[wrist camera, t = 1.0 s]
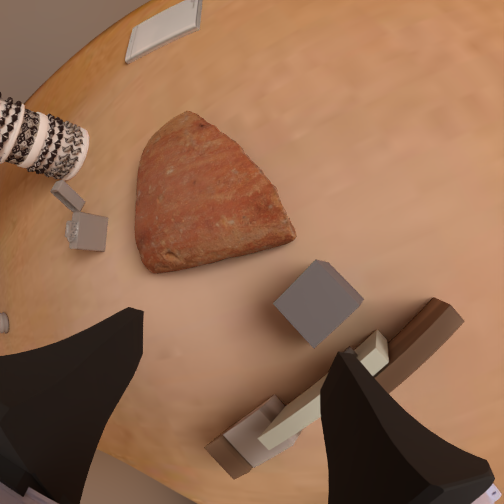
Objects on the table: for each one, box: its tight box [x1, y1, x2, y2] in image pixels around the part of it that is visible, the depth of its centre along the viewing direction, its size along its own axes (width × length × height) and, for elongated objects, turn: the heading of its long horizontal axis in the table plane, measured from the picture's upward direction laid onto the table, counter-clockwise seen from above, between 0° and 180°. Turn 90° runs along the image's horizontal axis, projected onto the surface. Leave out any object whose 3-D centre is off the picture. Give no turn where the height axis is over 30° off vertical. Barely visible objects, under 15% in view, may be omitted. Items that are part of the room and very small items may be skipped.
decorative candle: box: [0, 92, 89, 181], centre depth 28 cm, size 9×9×25 cm
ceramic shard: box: [135, 111, 296, 274], centre depth 27 cm, size 15×6×15 cm
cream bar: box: [257, 330, 389, 450], centre depth 20 cm, size 2×10×6 cm, turn 134°
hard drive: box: [125, 0, 202, 64], centre depth 34 cm, size 2×8×12 cm
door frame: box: [204, 298, 465, 479], centre depth 20 cm, size 4×22×6 cm, turn 134°
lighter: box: [51, 180, 108, 252], centre depth 31 cm, size 7×2×8 cm, turn 175°
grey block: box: [273, 260, 364, 348], centre depth 21 cm, size 4×4×5 cm
